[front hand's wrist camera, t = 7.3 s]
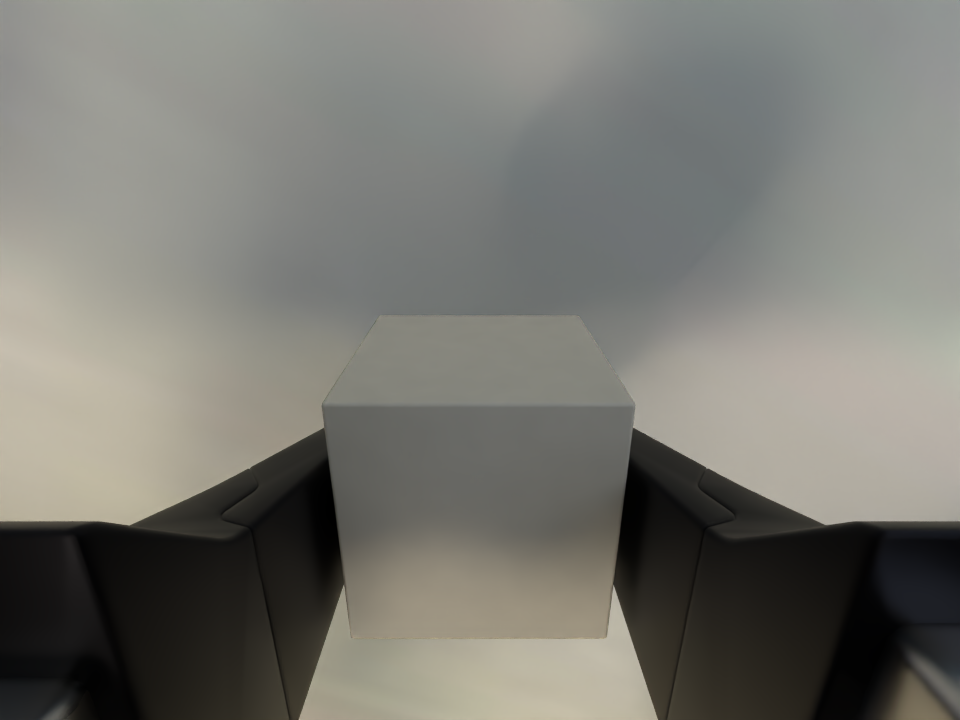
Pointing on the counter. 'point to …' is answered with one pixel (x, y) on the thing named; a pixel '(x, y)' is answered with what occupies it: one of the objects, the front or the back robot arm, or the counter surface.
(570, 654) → the counter surface
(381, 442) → the light grey cube-like block
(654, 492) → the front robot arm
